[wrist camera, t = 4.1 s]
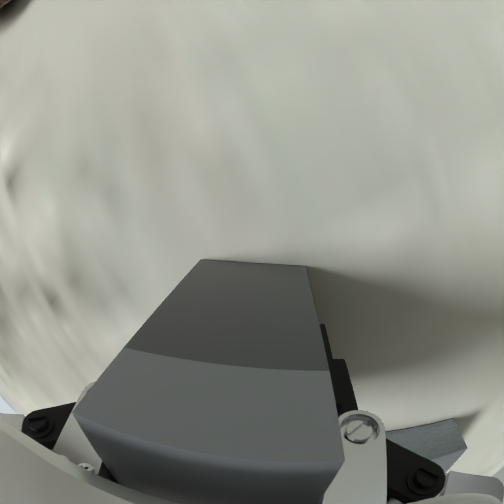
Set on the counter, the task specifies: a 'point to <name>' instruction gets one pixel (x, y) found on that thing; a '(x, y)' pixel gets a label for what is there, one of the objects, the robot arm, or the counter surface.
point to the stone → (3, 2)
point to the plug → (222, 393)
